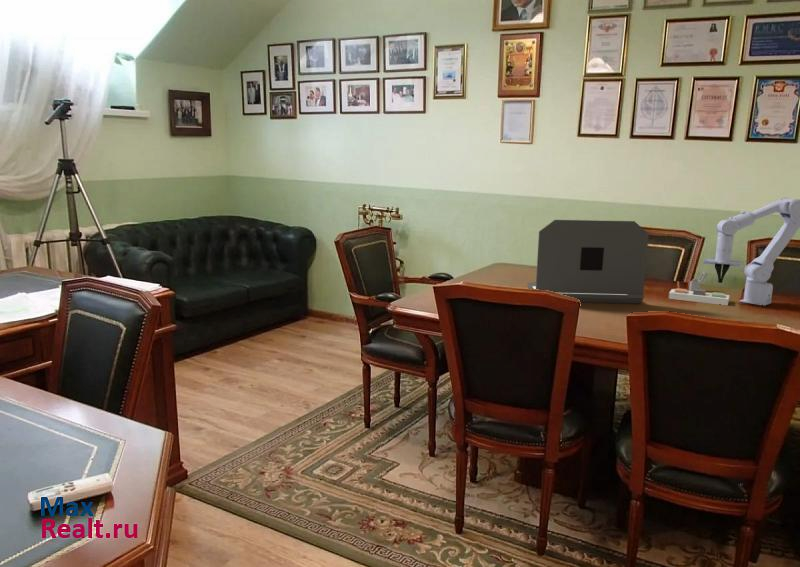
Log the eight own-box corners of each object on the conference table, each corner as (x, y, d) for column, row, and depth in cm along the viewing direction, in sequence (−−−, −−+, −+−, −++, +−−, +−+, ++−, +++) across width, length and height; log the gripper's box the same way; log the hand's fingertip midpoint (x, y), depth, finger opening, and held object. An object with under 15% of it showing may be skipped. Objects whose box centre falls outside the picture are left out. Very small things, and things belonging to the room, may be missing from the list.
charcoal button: (704, 296, 257) (705, 289, 256) (704, 298, 253) (704, 291, 253) (693, 295, 259) (694, 288, 258) (692, 297, 255) (693, 290, 255)
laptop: (620, 288, 278) (626, 214, 271) (642, 305, 247) (650, 221, 240) (524, 286, 280) (528, 212, 273) (534, 302, 249) (539, 219, 243)
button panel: (728, 301, 255) (729, 295, 254) (727, 305, 247) (728, 299, 246) (671, 294, 265) (672, 288, 265) (668, 298, 258) (669, 292, 257)
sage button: (723, 300, 253) (724, 293, 253) (722, 302, 250) (723, 295, 249) (712, 299, 255) (712, 292, 255) (711, 301, 252) (712, 294, 251)
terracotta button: (686, 296, 260) (687, 289, 260) (685, 298, 257) (686, 291, 256) (675, 295, 262) (676, 288, 262) (674, 296, 259) (675, 289, 258)
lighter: (691, 291, 273) (693, 273, 271) (688, 290, 274) (690, 272, 273) (705, 290, 274) (707, 273, 272) (702, 289, 276) (704, 272, 274)
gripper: (703, 249, 249) (700, 282, 252) (744, 252, 242) (740, 286, 245) (704, 247, 255) (701, 279, 258) (744, 250, 248) (740, 283, 251)
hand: (720, 282), depth 252 cm, fingers closed
